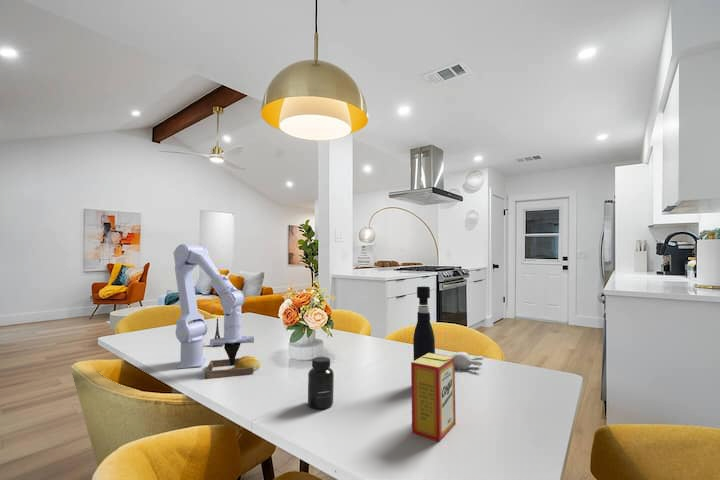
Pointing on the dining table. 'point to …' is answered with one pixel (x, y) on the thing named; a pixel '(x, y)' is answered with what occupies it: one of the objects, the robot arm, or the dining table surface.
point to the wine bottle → (423, 326)
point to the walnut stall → (225, 373)
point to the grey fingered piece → (465, 360)
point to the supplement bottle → (320, 384)
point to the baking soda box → (433, 395)
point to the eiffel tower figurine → (217, 335)
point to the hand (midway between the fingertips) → (232, 364)
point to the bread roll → (247, 363)
